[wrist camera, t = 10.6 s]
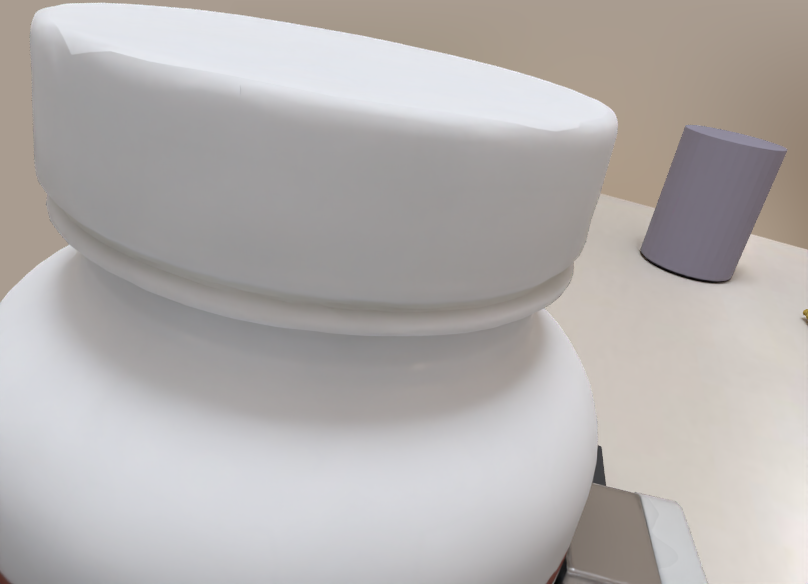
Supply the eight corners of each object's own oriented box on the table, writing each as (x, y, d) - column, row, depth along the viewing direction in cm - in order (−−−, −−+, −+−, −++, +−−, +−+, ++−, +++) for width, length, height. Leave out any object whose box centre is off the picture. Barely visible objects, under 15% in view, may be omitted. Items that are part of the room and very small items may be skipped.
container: (725, 263, 77) (778, 142, 70) (735, 292, 68) (796, 156, 61) (640, 239, 79) (683, 120, 73) (638, 265, 70) (687, 132, 64)
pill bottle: (-2, 707, 10) (-125, -46, 6) (325, 564, 14) (414, 36, 9) (83, 1285, 6) (-146, 133, 1) (523, 861, 10) (871, 154, 5)
